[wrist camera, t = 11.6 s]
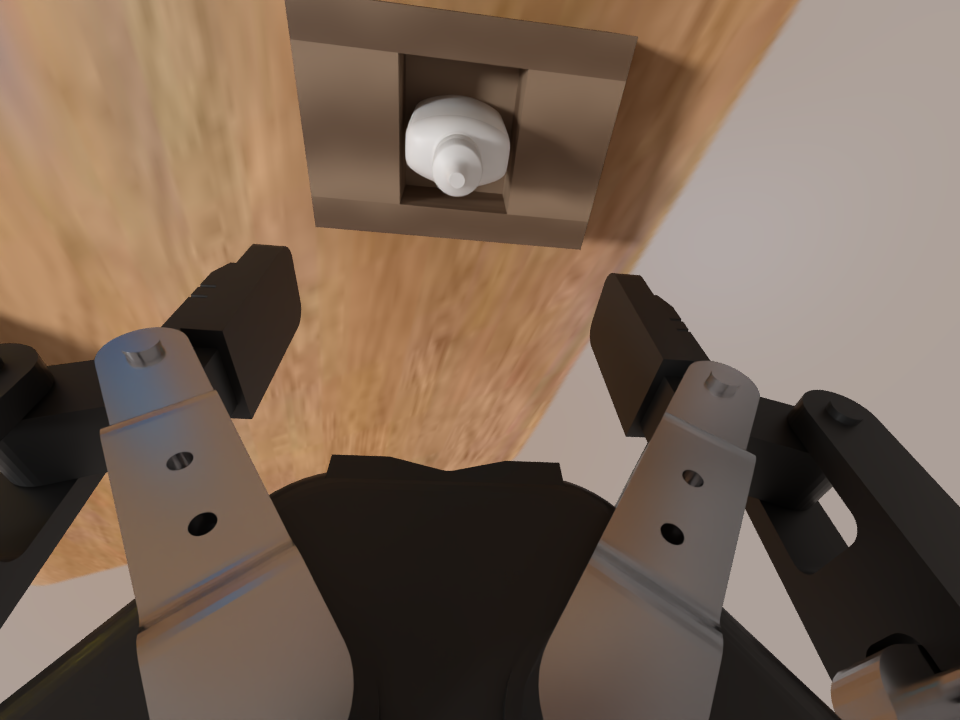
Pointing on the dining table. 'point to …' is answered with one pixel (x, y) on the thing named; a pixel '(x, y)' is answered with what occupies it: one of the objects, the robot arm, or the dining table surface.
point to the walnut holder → (453, 71)
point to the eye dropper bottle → (457, 143)
